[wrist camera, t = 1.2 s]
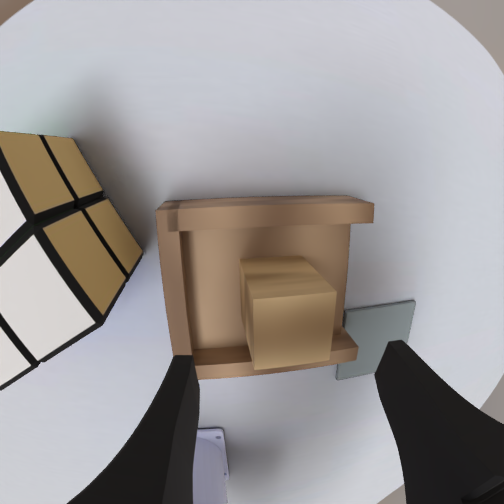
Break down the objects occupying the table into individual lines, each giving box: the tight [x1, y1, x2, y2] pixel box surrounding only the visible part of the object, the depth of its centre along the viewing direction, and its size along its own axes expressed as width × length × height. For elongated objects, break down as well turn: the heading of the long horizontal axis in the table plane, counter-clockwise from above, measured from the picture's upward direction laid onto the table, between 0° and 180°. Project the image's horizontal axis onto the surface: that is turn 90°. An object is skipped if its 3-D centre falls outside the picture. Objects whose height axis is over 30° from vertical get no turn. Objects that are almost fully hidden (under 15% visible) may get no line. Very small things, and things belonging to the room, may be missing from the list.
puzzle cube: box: [0, 131, 143, 390], centre depth 15 cm, size 10×10×10 cm
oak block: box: [239, 255, 337, 370], centre depth 18 cm, size 4×4×6 cm
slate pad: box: [336, 300, 416, 380], centre depth 26 cm, size 7×7×1 cm
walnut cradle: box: [156, 196, 374, 380], centre depth 21 cm, size 13×11×4 cm
